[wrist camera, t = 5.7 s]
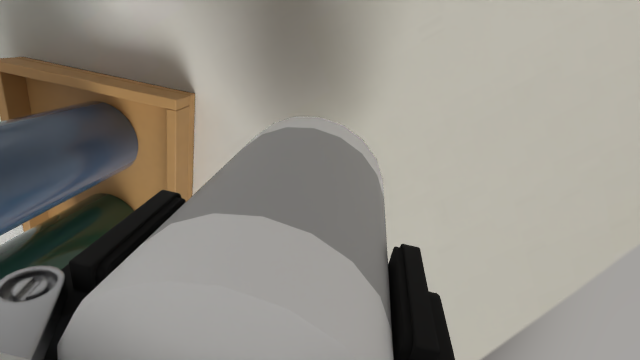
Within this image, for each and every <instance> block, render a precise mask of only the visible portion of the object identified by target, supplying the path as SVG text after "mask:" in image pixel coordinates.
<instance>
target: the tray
mask: <svg viewBox="0 0 640 360" xmlns="http://www.w3.org/2000/svg"><path fill="white" fill-rule="evenodd" d="M87 101H101V102H104V103H107V104H110V105H112V106H113V107H115V108H117V109H118V110H119V111H121V112H122V113H123V114H124V115H125V116H126V117H127V119H128V120H129V121H130V123H131V124H132V126H133V128H134V130H135V132H136V135H137V139H138V154H137V157H136V159H135V161H134V163H133V164H132V165H131V166H130V167H129V168H127V169H126V170H124V171H122V172H120V173H118V174H116V175H114V176H112V177H111V178H109V179H107V180H105V181H103V182H101V183H99V184H97V185H95V186H94V187H92V188H90V189H88V190H86V191H84V192H82V193H80V194H78V195H76V196H75V197H73V198H71V199H69V200H67V201H65V202H63V203H61V204H59V205H57V206H56V207H54V208H52V209H50V210H48V211H46V212H44V213H42V214H40V215H39V216H37V217H35V218H33V219H31V220H29V221H27V222H25V223H23V224H22V225H23V230H24V232H25V231H27V230H29V229H31V228H32V227H34V226H36V225H38V224H40V223H42V222H43V221H45V220H47V219H49V218H51V217H52V216H54V215H56V214H58V213H60V212H61V211H63V210H65V209H67V208H69V207H70V206H72V205H74V204H76V203H78V202H80V201H81V200H83V199H85V198H87V197H89V196H90V195H93V194H97V193H106V194H111V195H114V196H116V197H118V198H120V199H122V200H123V201H125V202H126V203H127V204H128V205H129V206H130V207H131V208H132V209H133V210H134V211H135V210H136V209H138V208H139V207H140V206H141V205H143V204H144V203H145V202H147V201H148V200H149V199H150V198H152V197H153V196H154V195H156V194H157V193H158V192H159V191H161V190H167V191H171V192H176V193H179V194H181V197H182V198H183V199H185V201H186V202H187V201H188V200H189V199H190V198H191V197H192V185H193V148H194V112H195V94H194V93H189V92H184V91H180V90H175V89H170V88H166V87H161V86H156V85H152V84H147V83H142V82H138V81H133V80H129V79H124V78H119V77H115V76H110V75H105V74H101V73H96V72H91V71H87V70H82V69H77V68H73V67H68V66H63V65H59V64H54V63H49V62H45V61H40V60H35V59H31V58H26V57H15V58H0V117H1V121H4V120H8V119H13V118H17V117H21V116H26V115H30V114H35V113H39V112H43V111H48V110H52V109H56V108H61V107H65V106H70V105H74V104H78V103H83V102H87Z"/></svg>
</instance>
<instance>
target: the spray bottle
mask: <svg viewBox="0 0 640 360" xmlns="http://www.w3.org/2000/svg"><path fill="white" fill-rule="evenodd" d="M57 353H58V360H394V358H393V342H392V325H391V308H390V291H389V274H388V258H387V241H386V224H385V207H384V190H383V179H382V176H381V172H380V169H379V165H378V162H377V159H376V157H375V156H374V155H373V153H372V152H371V150H370V149H369V147H368V146H367V144H366V143H365V142H364V140H363V139H361V138H360V137H359V136H357V135H356V134H355V133H353V132H352V131H351V130H349V129H348V128H347V127H345V126H344V125H342V124H339V123H336V122H333V121H330V120H327V119H325V118H322V117H302V116H295V117H292V118H289V119H285V120H282V121H279V122H276V123H273V124H272V125H270V126H269V127H267V128H266V129H265V130H263V131H262V132H261V133H259V134H258V135H257V136H255V137H254V138H253V139H252V140H251V141H250V142H249V143H248V144H247V145H246V146H245V147H244V148H243V149H242V150H241V151H239V152H238V153H237V154H236V155H235V156H234V157H233V158H232V159H231V160H230V161H229V162H228V163H227V164H226V165H225V166H224V167H223V168H221V169H220V170H219V171H218V172H217V173H216V174H215V175H214V176H213V177H212V178H211V179H210V180H209V181H208V182H207V183H206V184H205V185H204V186H202V187H201V188H200V189H199V190H198V191H197V192H196V193H195V194H194V195H193V196H192V197H191V198H190V199H189V200H188V201H187V202H186V203H184V204H183V205H182V206H181V207H180V208H179V209H178V210H177V211H176V212H175V213H174V214H173V215H172V216H171V217H170V218H169V219H168V220H166V221H165V222H164V223H163V224H162V225H161V226H160V227H159V228H158V229H157V230H156V231H155V232H154V233H153V234H152V235H151V236H150V237H149V238H147V239H146V240H145V241H144V242H143V243H142V244H141V245H140V246H139V247H138V248H137V249H136V250H135V251H134V252H133V253H132V254H131V255H129V256H128V257H127V258H126V259H125V260H124V261H123V262H122V263H121V264H120V265H119V266H118V267H117V268H116V269H115V270H114V271H113V272H111V273H110V274H109V275H108V276H107V277H106V278H105V279H104V280H103V281H102V282H101V283H100V284H99V285H98V286H97V287H96V288H95V289H93V290H92V291H91V292H90V293H89V294H88V295H87V296H86V297H85V298H84V299H83V300H82V301H81V303H80V305H79V306H78V308H77V309H76V311H75V313H74V314H73V316H72V318H71V320H70V322H69V324H68V326H67V327H66V329H65V331H64V333H63V335H62V337H61V339H60V341H59V343H58V345H57Z"/></svg>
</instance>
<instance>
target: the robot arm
mask: <svg viewBox="0 0 640 360" xmlns="http://www.w3.org/2000/svg"><path fill="white" fill-rule="evenodd" d="M184 203H186V201H185V199H183V198H182V197H181V194H179V193H176V192H171V191H167V190H161V191H159V192H158V193H157V194H156V195H154V196H153V197H152V198H150V199H149V200H148V201H147V202H145V203H144V204H143V205H141V206H140V207H139V208H138V209H136V210H135V211H134V212H132V213H131V214H130V215H128V216H127V217H126V218H125V219H123V220H122V221H121V222H119V223H118V224H117V225H116V226H114V227H113V228H112V229H110V230H109V231H108V232H106V233H105V234H104V235H103V236H101V237H100V238H99V239H97V240H96V241H95V242H94V243H92V244H91V245H90V246H88V247H87V248H86V249H85V250H83V251H82V252H81V253H79V254H78V255H77V256H75V257H74V258H73V259H72V260H70V261H69V264H68V265H67V266H65V267H64V268H63V269H61V270H60V269H58V268H56V267H52V266H33V267H28V268H24V269H21V270H17V271H15V272H13V273H11V274H9V275H7V276H5V277H4V278H2V279H1V280H0V360H58V353H57V345H58V343H59V341H60V339H61V337H62V335H63V333H64V331H65V329H66V327H67V326H68V324H69V322H70V320H71V318H72V316H73V314H74V313H75V311H76V309H77V308H78V306H79V305H80V303H81V301H82V300H83V299H84V298H85V297H86V296H87V295H88V294H89V293H90V292H91V291H92V290H93V289H95V288H96V287H97V286H98V285H99V284H100V283H101V282H102V281H103V280H104V279H105V278H106V277H107V276H108V275H109V274H110V273H111V272H113V271H114V270H115V269H116V268H117V267H118V266H119V265H120V264H121V263H122V262H123V261H124V260H125V259H126V258H127V257H128V256H129V255H131V254H132V253H133V252H134V251H135V250H136V249H137V248H138V247H139V246H140V245H141V244H142V243H143V242H144V241H145V240H146V239H147V238H149V237H150V236H151V235H152V234H153V233H154V232H155V231H156V230H157V229H158V228H159V227H160V226H161V225H162V224H163V223H164V222H165V221H166V220H168V219H169V218H170V217H171V216H172V215H173V214H174V213H175V212H176V211H177V210H178V209H179V208H180V207H181V206H182V205H183V204H184ZM388 274H389V291H390V308H391V325H392V342H393V358H394V360H455V357H454V353H453V349H452V345H451V341H450V336H449V332H448V328H447V324H446V320H445V315H444V311H443V307H442V303H441V299H440V296H439V295H438V294H437V293H432V292H428V287H427V282H426V277H425V272H424V267H423V262H422V257H421V252H420V248H418V247H414V246H410V245H405V244H401V246H400V248H398V247H394V249H393V252H392V255H391V258H390V261H389V264H388Z"/></svg>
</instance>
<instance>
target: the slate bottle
mask: <svg viewBox="0 0 640 360" xmlns="http://www.w3.org/2000/svg"><path fill="white" fill-rule="evenodd" d="M137 154H138V139H137V135H136V132H135V130H134V128H133V126H132V124H131V123H130V121H129V120H128V119H127V117H126V116H125V115H124V114H123V113H122V112H121V111H119V110H118V109H117V108H115V107H113V106H112V105H110V104H107V103H104V102H101V101H87V102H83V103H78V104H74V105H70V106H65V107H61V108H56V109H52V110H48V111H43V112H39V113H35V114H30V115H26V116H21V117H17V118H13V119H8V120H4V121H0V236H1V235H3V234H4V233H6V232H8V231H10V230H12V229H14V228H16V227H18V226H20V225H21V224H23V223H25V222H27V221H29V220H31V219H33V218H35V217H37V216H39V215H40V214H42V213H44V212H46V211H48V210H50V209H52V208H54V207H56V206H57V205H59V204H61V203H63V202H65V201H67V200H69V199H71V198H73V197H75V196H76V195H78V194H80V193H82V192H84V191H86V190H88V189H90V188H92V187H94V186H95V185H97V184H99V183H101V182H103V181H105V180H107V179H109V178H111V177H112V176H114V175H116V174H118V173H120V172H122V171H124V170H126V169H127V168H129V167H130V166H131V165H132V164H133V163H134V161H135V159H136V157H137Z"/></svg>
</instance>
